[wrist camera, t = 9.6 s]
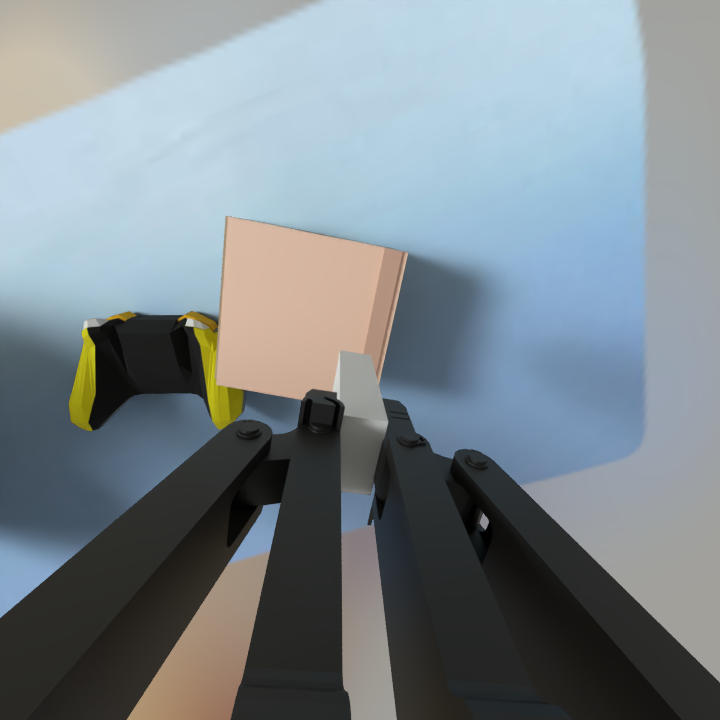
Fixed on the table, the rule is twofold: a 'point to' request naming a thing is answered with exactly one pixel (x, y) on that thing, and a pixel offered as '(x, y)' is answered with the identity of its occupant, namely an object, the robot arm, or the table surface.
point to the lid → (301, 307)
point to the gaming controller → (149, 366)
